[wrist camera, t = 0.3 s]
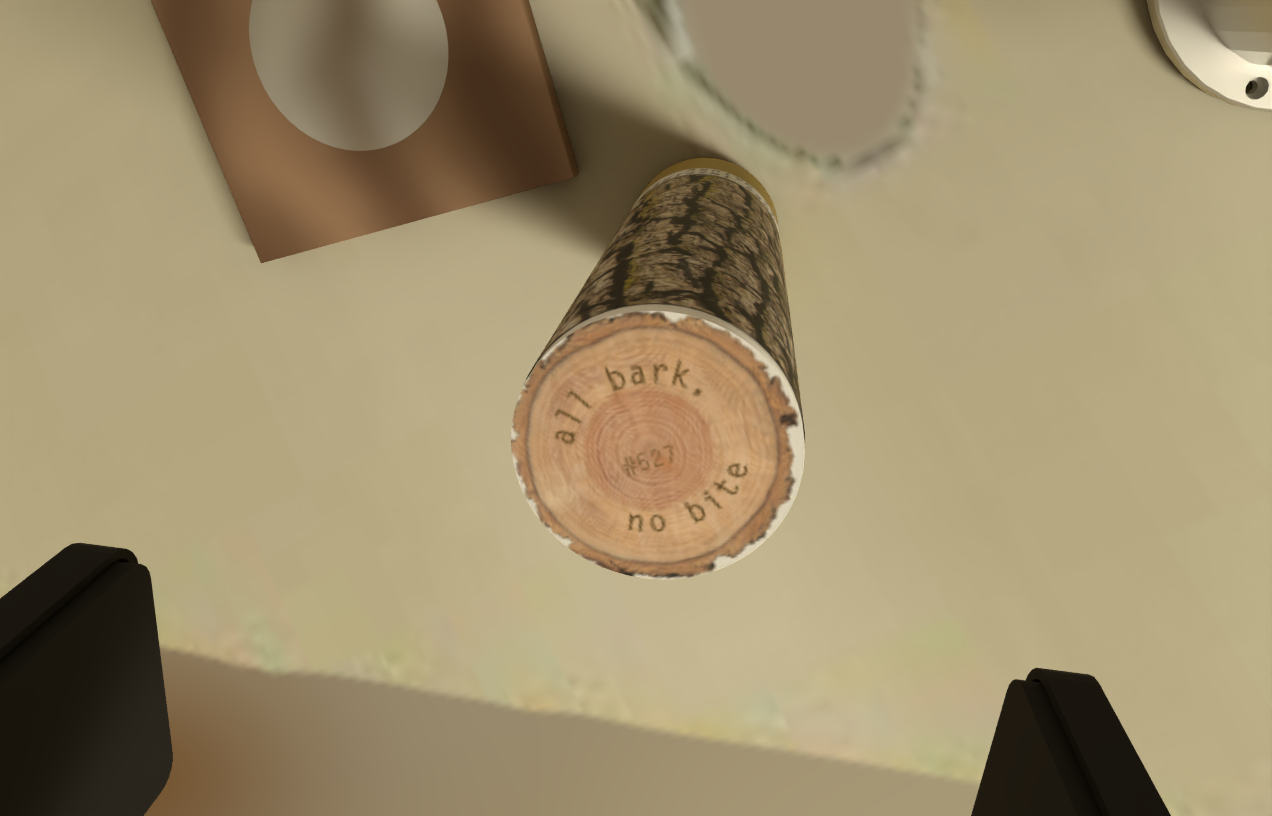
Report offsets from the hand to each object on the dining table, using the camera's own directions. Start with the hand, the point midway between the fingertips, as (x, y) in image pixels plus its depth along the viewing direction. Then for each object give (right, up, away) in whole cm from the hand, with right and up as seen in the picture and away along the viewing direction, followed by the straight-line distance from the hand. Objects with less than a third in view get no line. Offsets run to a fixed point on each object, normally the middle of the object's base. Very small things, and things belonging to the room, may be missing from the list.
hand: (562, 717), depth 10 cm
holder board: (-12, +20, +33) cm, 40 cm away
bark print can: (+4, +12, +35) cm, 37 cm away
